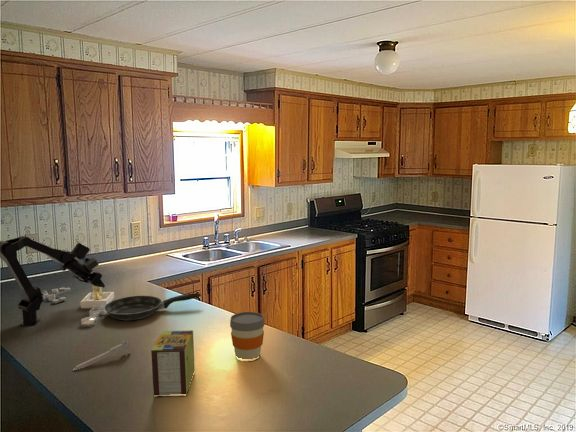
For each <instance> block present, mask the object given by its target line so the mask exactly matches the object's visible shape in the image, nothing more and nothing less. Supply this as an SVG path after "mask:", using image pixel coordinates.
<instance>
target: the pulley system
mask: <svg viewBox="0 0 576 432" xmlns="http://www.w3.org/2000/svg"><path fill="white" fill-rule="evenodd" d="M70 291H71V287H60V288H53V289H51V292H52V293H48V291H47V290H41V293H42V294H44V295H42V296H43V300H48V301H49V302H52V304H55V305H56V304H58V303H60V302H64V301H66V300H67V298H66V297H65V296H58V295H60V294H63V293H66V292H70Z"/></svg>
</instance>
